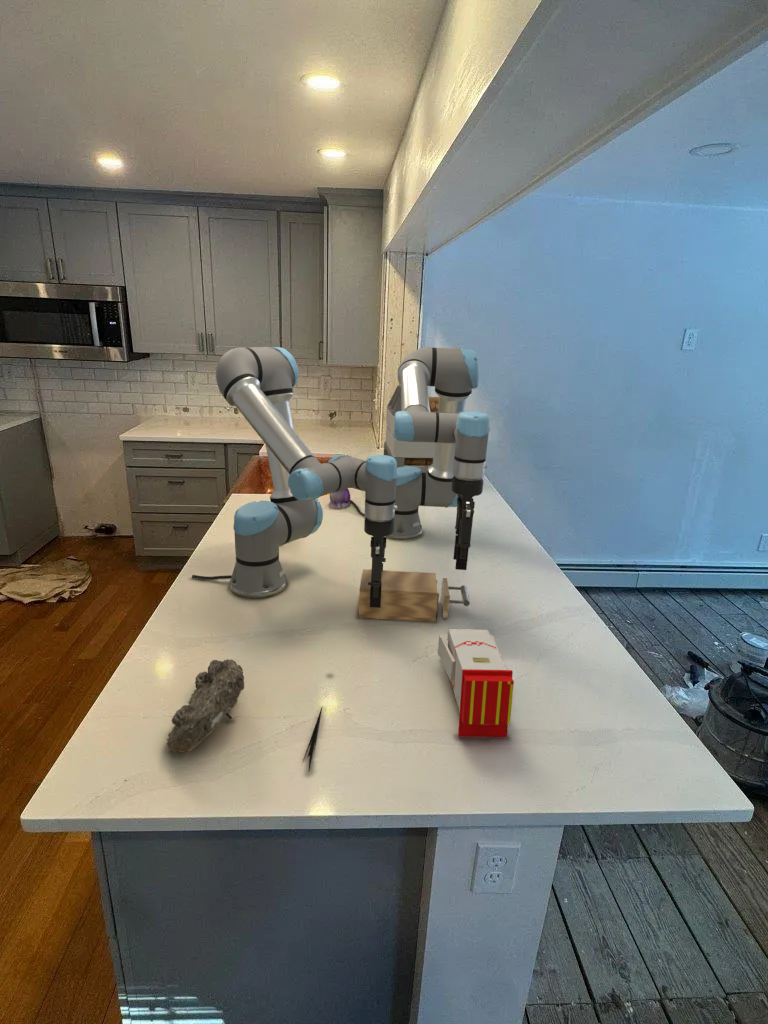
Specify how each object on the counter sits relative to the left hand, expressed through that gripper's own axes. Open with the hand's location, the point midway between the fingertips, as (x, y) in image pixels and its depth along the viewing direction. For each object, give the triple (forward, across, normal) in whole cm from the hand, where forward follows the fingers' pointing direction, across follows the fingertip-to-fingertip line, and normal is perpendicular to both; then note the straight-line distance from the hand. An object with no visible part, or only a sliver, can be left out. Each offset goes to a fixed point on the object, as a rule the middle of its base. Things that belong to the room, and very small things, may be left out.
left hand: (376, 595), depth 149 cm
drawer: (+3, 0, -12) cm, 12 cm away
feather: (+4, -44, +9) cm, 45 cm away
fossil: (+4, -45, +29) cm, 54 cm away
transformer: (+4, +133, -15) cm, 134 cm away
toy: (+4, -33, -21) cm, 39 cm away
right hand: (-10, 0, -21) cm, 23 cm away
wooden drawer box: (+4, 0, -6) cm, 7 cm away
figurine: (+4, +80, +18) cm, 82 cm away
